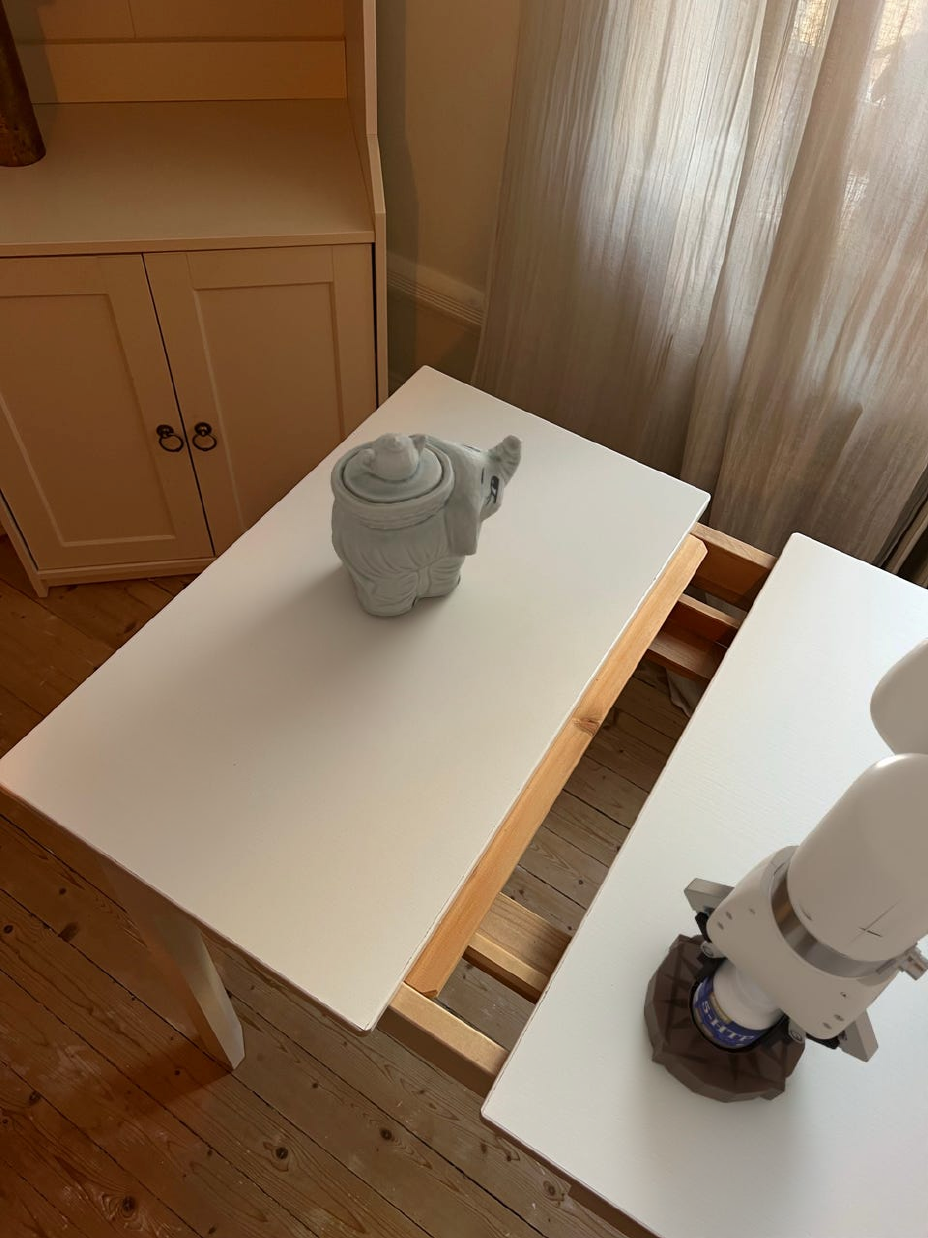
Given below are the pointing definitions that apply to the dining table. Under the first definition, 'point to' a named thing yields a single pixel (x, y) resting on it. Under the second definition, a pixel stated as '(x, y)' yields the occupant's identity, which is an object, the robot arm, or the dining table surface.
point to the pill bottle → (733, 1008)
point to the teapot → (414, 513)
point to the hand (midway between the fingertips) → (742, 998)
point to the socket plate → (696, 1055)
